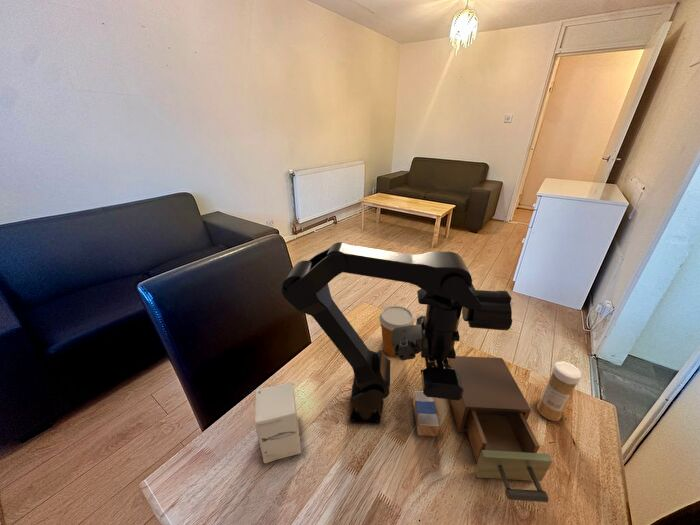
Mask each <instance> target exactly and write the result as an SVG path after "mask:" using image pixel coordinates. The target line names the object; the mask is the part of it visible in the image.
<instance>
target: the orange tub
mask: <svg viewBox="0 0 700 525" xmlns="http://www.w3.org/2000/svg"><path fill="white" fill-rule="evenodd" d="M378 319H379V323H380V327H381V328H380V329H381V337H382V338H381V339H382V349H383V352H384V353H385V354H387V355H388V356H391V357H396V356H395V355H394V347H393V344H392V330H393V329H395V328H398V327H403V326H408V325H415V323H416V318H415V317H414V313H413V312H412V311H411V310H410V309H409V308H407V307H405V306H403V305H402V306H401V305H388V306H385V307H384V308H383V309H382V310H381V311H380V314H379V316H378Z"/></svg>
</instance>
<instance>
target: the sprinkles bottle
mask: <svg viewBox="0 0 700 525" xmlns="http://www.w3.org/2000/svg"><path fill="white" fill-rule="evenodd" d="M582 374H583V373H582V372H581V370H580V369H579V368H578V367H576V365H574V364H572V363H570V362H568V361H557V362H555V363H554V365H553V367H552V372H551V375H550V377H549V379H548V381H547V383H546V385H545V388H544V390H543V392H542V395H541V398H540V400H539V402H538V403H537V404H536V405H537V406H536V407H537V408H536V409H537V411H538V413H539V414H540V415H541V416H542V417H544V418H545V419H546V420H549V421H553V422H556V421H559V420H561V418H562V414H563V412H564V410H565V409H566V407H567V405H568V403H569V401H570V398H571V396H572V394H573V392H574V390H575V388H576V386H578V384H579V383H580V381H581V379H582V376H583V375H582Z"/></svg>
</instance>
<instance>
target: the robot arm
mask: <svg viewBox="0 0 700 525" xmlns="http://www.w3.org/2000/svg"><path fill="white" fill-rule="evenodd" d="M342 273H343V274H351V275H356V276H363V277H369V278H375V279H381V280H382V279H383V280H386V281H387V280H388V281H395V282H399V283H407V284H410V285H414V286H416V287H418V288H419V289H418V290H417V291H416V294H417V302H418V304H419V305H426V310H425V315H420V316H418V317H417V318H416V320H415V324H414V325H408V326H403V327H398V328H395V329H393V330H392V344H393V347H394V355H395V356H394V357H398V358H399V360H401V361H408V360H414V359H415V358H416V355H417V354H420V358H423V359H424V360H425V361H424V362H425V368H424V369H420V376H421V377H420V378H421V386H422V392H423V394H424V395H425V396H426V397H432V398H433V399H441V400H442V399H443V400H449V401H450V400H458V401H459V400H460V399H461V398H462V395H463V391H464V389H463V385H462V382H461V378H460V374H459V373H458V372H457V371H456V370H455V369H453V367H451V366H449V363H448V358H451V359H455V357H456V356H457V354H456V350H455V343H456V342H460V338H461V336H460V333H459V330H458V329H459V325H460V320H461V316H462V320H463V322H467V323H468V327H469V328H471V329H481V330H482V329H483V330H494V331H507V332H508V331H509V330H510V329H511V326H512V325H513V318H512V317H513V310H512V304H511V303H512V299H513V298H512V296H511V295H510V293H509V292H508V291H507V290H481V289H476V288H475V285H474V284H473V278H472V275H471V273H470V270H469V269H468V267H467V265H466V263H465V261H464V259H463V258H462V256H461V255H460V254H458V253H456V252H453V251H428V252H424V253H419V254H410V253H403V252H396V251H390V250H384V249H378V248H370V247H366V246H365V247H364V246H358V245H351V244H347V243H345V242H342V241H339V242H335V243H333V244H332V245H331V246H330V247H328V248H327V249H324V250H322V251H320V252H318V253H317V254H315V255H314V256H312V257H311V258H309V259H308V260H300V261H298V262H296V264H294V265H293V268H292V269H291V270H290V272H289V273H288V274H287V276H286V277H285V279H284V281H283V283H282V285H281V294H282V296H283V298H284V299H285V300H286V301H287V302H288V303H289V304H290V305H291V306H292V307H294V308H295V309H296V310H297V311H298V312H301V313H302V314H305V315H308V316H311V317H312V318H313V319H314V320H315V322H316V323H317V324H318V326H319V327H320V328H321V330H322V331H323V332H324V333H325V335H326V336H327V337H328V338H329V339H330V341H331V343H332V344H333V345H334V346H335V347H336V349H337V350H338V352H339V353H340V354H341V355H342V356H343V358H344V359H345V361H347V363H348V364H349V365H350V367H351V368H352V371H353V382H352V384H351V392H350V393H351V394H350V399H349V402H350V405H351V406H350V419H349V420H350V423H351V424H364V425H380V424H381V415H383V411H384V400H385V399H386V398H388V397H389V395H390V394H391V393H390V392H391V390H390V389H391V388H390V387H391V360H390V359H389V358H387V357H386V355H385V352H384V350H382V349H379V350H378V351H374V350H371V349H369V347H368V346H367V344H365V342H364V341H363V338H361V336H360V335H359V334H358V333H357V331H356V329H355V328H354V327H353V326H352V324H351V322H350V321H349V320H348V319H347V317H346V316H345V314H344V313H343V312H342V310H341V309H340V308H339V307H338V305H337V304H336V302H335V301H334V299H333V298H332V295H331V291H330V287H329V283H330V282H331V281H332V280H334V278H336V277H337V276H339V275H340V274H342Z"/></svg>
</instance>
